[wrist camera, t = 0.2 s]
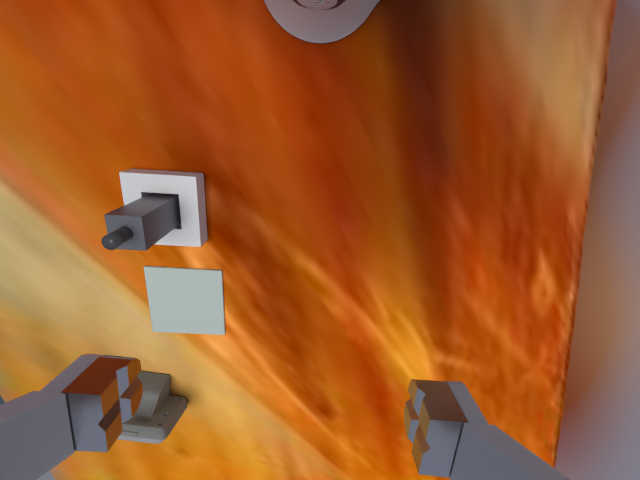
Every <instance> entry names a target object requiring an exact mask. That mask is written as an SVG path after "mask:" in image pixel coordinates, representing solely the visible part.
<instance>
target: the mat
mask: <svg viewBox="0 0 640 480" xmlns="http://www.w3.org/2000/svg"><path fill="white" fill-rule="evenodd" d="M144 273H145V280H146V287H147V294H148V301H149V308H150V315H151V322H152V329H153V332H173V333H193V334H214V335H225V316H224V295H223V274H222V270H214V269H196V268H177V267H159V266H144Z"/></svg>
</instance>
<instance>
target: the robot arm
mask: <svg viewBox="0 0 640 480" xmlns="http://www.w3.org/2000/svg"><path fill="white" fill-rule="evenodd" d="M379 1H380V0H264V2H265V4H266V6H267V8H268V10H269V11H270V13H271V14H272V16H273V17H274V19H275V20H276V21H277V22H278V23H279V25H280V26H281V27H282V28H284V29H285V30H286V31H287V32H288V33H290V34H291V35H293V36H295V37H297V38H299V39H301V40H304V41H307V42H312V43H329V42H334V41H337V40H340V39H342V38H344V37H346V36H348V35H349V34H351V33H352V32H354V31H355V30H356V29H357V28H358V27H359V26H360V25H361V24H362V23H363V22H364V21H365V20H366V19H367V17H368V16H369V14H370V13H371V11H372V10H373V8H374V7H375V6H376V4H377V3H378V2H379ZM140 371H141V364H140V360H138V359H137V358H130V357H120V356H109V355H97V354H84V355H81V356H80V357H79V358H78V359H77V360H76V361H74V362H73V363H72V364H71V365H70V366H69V367H67V368H66V369H65V370H64V371H63V372H62V373H60V374H59V375H58V376H57V377H56V378H55V379H53V380H52V381H51V382H50V383H49V384H48V385H46V386H45V387H44V388H43V389H42V390H41V391H33V392H30V393H28V394H26V395H23V396H21V397H18V398H16V399H14V400H11V401H9V402H6V403H4V404H2V405H0V480H36V479H38V478H39V477H41V476H42V475H43V474H45V473H46V472H48V471H49V470H51V469H52V468H53V467H55V466H56V465H58V464H59V463H60V462H62V461H63V460H65V459H66V458H68V457H69V456H70V455H72V454H73V453H74V451H94V452H108V451H109V449H110V448H111V447H112V445H113V444H114V442H115V441H116V440H117V438H118V437H119V435H120V434H121V432H122V431H123V430H122V423H124V422H126V421H127V420H129V419H131V418H132V417H133V415H134V414H135V412H136V411H137V409H138V407H139V404H140V402H141V399H142V392H143V386H142V382H141V381H140V380H139V379H138V377H137V375H138V374H139V373H140ZM408 392H409V395H410V399H409V400H408V401H407V402H406V404H405V411H404V423H405V429H406V433H407V437H408V439H409V440H410V441H411V442H412V443H413V448H412V454H413V457H414V461H415V464H416V467H417V471H418V474H421V475H431V476H440V477H450V480H569V479H568V478H567V477H565V476H564V475H562V474H561V473H560V472H558V471H557V470H556V469H554V468H553V467H551V466H550V465H549V464H547V463H546V462H545V461H543V460H542V459H540V458H539V457H538V456H536V455H535V454H534V453H532V452H531V451H529V450H528V449H527V448H525V447H524V446H522V445H521V444H520V443H518V442H517V441H516V440H514V439H513V438H511V437H510V436H509V435H507V434H506V433H504V432H503V431H502V430H500V429H499V428H498V427H496V426H495V425H489V424H488V422H487V421H486V419H485V417H484V416H483V414H482V412H481V411H480V409H479V407H478V406H477V404H476V402H475V401H474V399H473V397H472V396H471V394H470V393H469V391H468V389H467V388H466V386H465V384H464V383H462V382H455V381H444V382H443V381H430V380H415V379H411V381H410V383H409V388H408Z"/></svg>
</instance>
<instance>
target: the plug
mask: <svg viewBox="0 0 640 480" xmlns="http://www.w3.org/2000/svg"><path fill="white" fill-rule="evenodd" d="M105 221H106V226H107V232H108V235H106V236H104V237H103V238H102V244H103V246H104V247H105V248H106V249H109V250H114V249H128V250H147V249H149V248H150V247H151V246H152V245H154V244H155V243H156V242H158V241H159V240H160V239H161V238H163V237H164V236H165V235H167V234H168V233H169V232H170V231H172V230H173V229H174V228H176V227H177V226H178V225H179V224H181V216H180V205H179V194H166V193H150V194H148V195H146V196H144V197H142V198H140V199H137V200H135V201H133V202H131V203H129V204H127V205H124V206H122V207H120V208H118V209H116V210H113V211H111V212H109V213H107V214H105Z"/></svg>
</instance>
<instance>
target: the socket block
mask: <svg viewBox="0 0 640 480" xmlns="http://www.w3.org/2000/svg"><path fill="white" fill-rule="evenodd" d="M119 174H120V181H121V187H122V194H123V200H124V205H127V204H129V203H131V202H133V201H135V200H137V199H140V198H142V197H144V196H146V195H148V194H150V193H166V194H179V205H180V216H181V224H179V225H178V226H177V227H176V228H174V229H173V230H172V231H170V232H169V233H168V234H167V235H165V236H164V237H163V238H161V239H160V240H159V241H158V242H156V243H155V244H158V245H176V246H194V247H201V246H202V245H203V244H204V243H205V242H206V241H207V240H208V238H207V223H206V207H205V191H204V175H203V173H194V172H178V171H161V170H145V169H128V170H125V171H121V172H119Z"/></svg>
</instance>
